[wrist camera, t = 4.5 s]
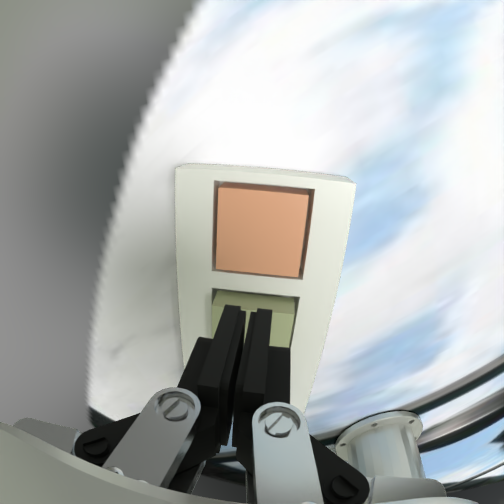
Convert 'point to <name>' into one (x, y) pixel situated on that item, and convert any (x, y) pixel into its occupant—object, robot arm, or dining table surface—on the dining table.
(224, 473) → the dining table surface
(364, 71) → the dining table surface
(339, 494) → the robot arm
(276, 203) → the terracotta key
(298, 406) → the keypad
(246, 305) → the olive key
